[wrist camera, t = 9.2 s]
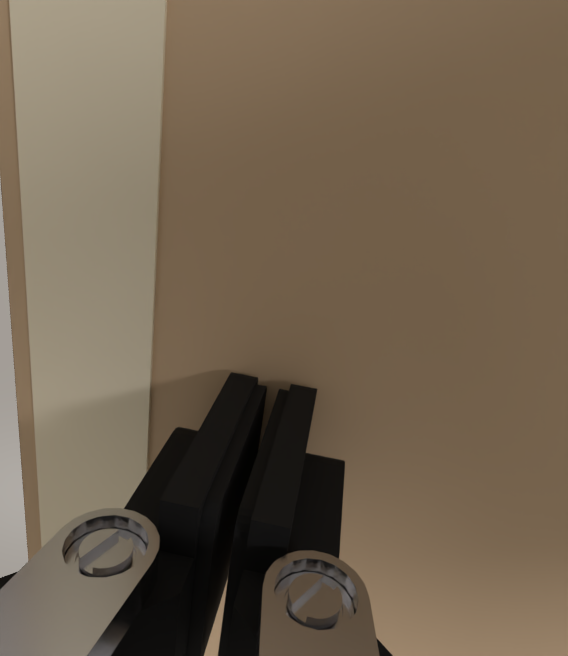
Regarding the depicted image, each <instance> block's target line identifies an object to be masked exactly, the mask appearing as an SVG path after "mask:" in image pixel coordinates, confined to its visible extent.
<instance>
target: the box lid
mask: <svg viewBox="0 0 568 656" xmlns="http://www.w3.org/2000/svg"><path fill="white" fill-rule="evenodd" d="M0 176H1V191H2V205H3V219H4V232H5V246H6V259H7V272H8V287H9V300H10V314H11V328H12V342H13V354H14V355H13V356H14V369H15V383H16V397H17V409H18V423H19V437H20V451H21V465H22V479H23V491H24V505H25V520H26V533H27V545H28V546H27V547H28V559H29V560H30V559H31V558H32V557H33V556H34V555H35V554H36V553H37V552H38V551H39V550H40V549H41V548H42V547H43V546H44V545H45V544H46V543H47V542H48V541H49V540H50V539H51V538H52V537H53V536H54V535H55V534H56V533H57V532H58V531H59V530H60V529H61V528H62V527H64V526H65V525H66V524H68V523H69V522H70V521H71V520H73V519H74V518H76V517H79V516H81V515H83V514H85V513H87V512H91V511H95V510H100V509H104V508H122V509H124V507H125V506H126V504H127V503H128V501H129V500H130V498H131V496H132V495H133V493H134V492H135V490H136V489H137V487H138V485H139V484H140V482H141V481H142V479H143V478H144V476H145V475H146V473H147V471H148V470H149V468H150V467H151V465H152V464H153V462H154V460H155V459H156V457H157V456H158V454H159V453H160V451H161V449H162V448H163V446H164V445H165V443H166V442H167V440H168V438H169V437H170V435H171V434H172V432H173V431H174V430H175V428H177V427H182V428H187V429H192V430H197V431H199V429H200V427H201V425H202V423H203V422H204V420H205V418H206V416H207V414H208V413H209V411H210V409H211V407H212V405H213V403H214V402H215V400H216V398H217V396H218V394H219V393H220V391H221V389H222V387H223V385H224V384H225V382H226V380H227V378H228V376H229V375H230V373H231V372H233V373H238V374H243V375H248V376H253V377H258V385H263V386H267V393H266V400H265V407H264V414H263V421H262V428H261V435H260V442H259V447H260V444H261V441H262V438H263V435H264V432H265V429H266V426H267V423H268V420H269V418H270V415H271V412H272V409H273V406H274V403H275V400H276V397H277V394H278V391H279V389H283V390H288V391H289V389H290V385H291V384H295V385H300V386H305V387H310V388H316V389H317V394H316V400H315V405H314V411H313V416H312V422H311V427H310V433H309V438H308V444H307V449H306V453H310V454H315V455H320V456H325V457H329V458H334V459H339V460H344V461H345V474H344V490H343V506H342V522H341V537H340V553H339V559H340V560H342V561H344V562H345V563H346V564H348V565H349V566H350V567H351V568H352V569H354V570H355V571H356V572H357V574H358V575H359V576H360V578H361V579H362V581H363V582H364V583H365V586H366V589H367V592H368V595H369V598H370V603H371V609H372V615H373V621H374V627H375V632H376V638H377V639H378V640H379V641H380V642H381V643H382V644H383V645H384V646H385V648H386V649H387V650H388V651H389V652H390V653H391V654H392V655H393V656H568V0H0ZM258 450H259V449H258ZM29 560H28V561H29ZM227 582H228V579H227ZM227 582H226V585H225V589H224V592H223V595H222V598H221V602H220V605H219V608H218V611H217V615H216V618H215V621H214V624H213V628H212V631H211V634H210V637H209V640H208V644H207V647H206V650H205V653H204V656H218V650H219V642H220V635H221V627H222V620H223V612H224V604H225V597H226V589H227Z"/></svg>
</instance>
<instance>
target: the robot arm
mask: <svg viewBox="0 0 568 656" xmlns="http://www.w3.org/2000/svg"><path fill="white" fill-rule="evenodd" d="M266 393H267V386H263V385H258V377H253V376H248V375H243V374H238V373H233V372H231V373H230V375H229V376H228V378H227V380H226V382H225V384H224V385H223V387H222V389H221V391H220V393H219V394H218V396H217V398H216V400H215V402H214V403H213V405H212V407H211V409H210V411H209V413H208V414H207V416H206V418H205V420H204V422H203V423H202V425H201V427H200V429H199V431H197V430H192V429H187V428H182V427H177V428H175V430H174V431H173V432H172V434H171V435H170V437H169V438H168V440H167V442H166V443H165V445H164V446H163V448H162V449H161V451H160V453H159V454H158V456H157V457H156V459H155V460H154V462H153V464H152V465H151V467H150V468H149V470H148V471H147V473H146V475H145V476H144V478H143V479H142V481H141V482H140V484H139V485H138V487H137V489H136V490H135V492H134V493H133V495H132V496H131V498H130V500H129V501H128V503H127V504H126V506H125V507H124V509H122V508H104V509H100V510H95V511H91V512H87V513H85V514H83V515H81V516H79V517H76V518H74V519H73V520H71V521H70V522H69V523H68V524H66V525H65V526H64V527H62V528H61V529H60V530H59V531H58V532H57V533H56V534H55V535H54V536H53V537H52V538H51V539H50V540H49V541H48V542H47V543H46V544H45V545H44V546H43V547H42V548H41V549H40V550H39V551H38V552H37V553H36V554H35V555H34V556H33V557H32V558H31V559H30V560H29V561H28V563H26V564H25V565H24V566H23V567H22V568H21V569H20V570H19V571H18V572H16V573H13V574H10V575H7V576H4V577H2V578H0V656H204V653H205V650H206V647H207V644H208V640H209V637H210V634H211V631H212V628H213V624H214V621H215V618H216V615H217V611H218V608H219V605H220V602H221V598H222V595H223V592H224V589H225V585H226V582H227V579H228V582H227V589H226V597H225V604H224V612H223V620H222V627H221V635H220V642H219V650H218V656H393V655H392V654H391V653H390V652H389V651H388V650H387V649H386V648H385V646H384V645H383V644H382V643H381V642H380V641H379V640H378V639H377V638H376V632H375V627H374V621H373V615H372V609H371V603H370V598H369V595H368V592H367V589H366V586H365V583H364V582H363V581H362V579H361V578H360V576H359V575H358V574H357V572H356V571H355V570H354V569H352V568H351V567H350V566H349V565H348V564H346V563H345V562H344V561H342V560H340V559H339V553H340V537H341V522H342V506H343V490H344V474H345V461H344V460H339V459H334V458H329V457H325V456H320V455H315V454H310V453H306V449H307V444H308V438H309V433H310V427H311V422H312V416H313V411H314V405H315V400H316V394H317V389H316V388H310V387H305V386H300V385H295V384H291V385H290V389H289V391H288V390H283V389H279V391H278V394H277V397H276V400H275V403H274V406H273V409H272V412H271V415H270V418H269V420H268V423H267V426H266V429H265V432H264V435H263V438H262V441H261V444H260V447H259V442H260V435H261V428H262V421H263V414H264V407H265V400H266ZM258 449H259V450H258Z"/></svg>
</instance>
